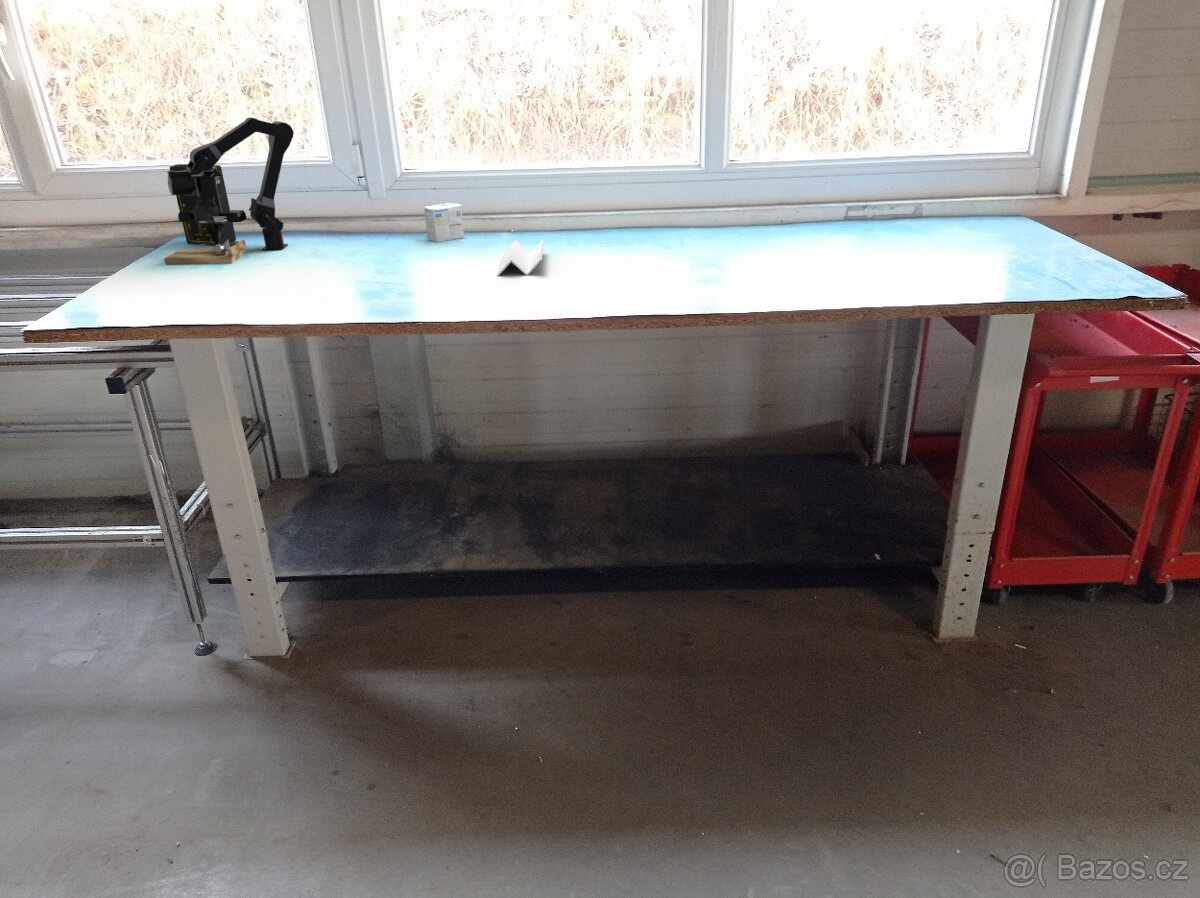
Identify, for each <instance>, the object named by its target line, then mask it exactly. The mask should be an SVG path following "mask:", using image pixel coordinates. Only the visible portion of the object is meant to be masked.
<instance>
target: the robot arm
mask: <svg viewBox="0 0 1200 898" xmlns="http://www.w3.org/2000/svg"><path fill="white" fill-rule="evenodd" d="M255 133H260V134H264V135H267V136H268V137H267V140H268V149H269V150H268V155H267V159H266V163H265V168H264V171H263V172H264V173H263V177H262V180H261V186H260V190H259V194H258V196H257V197H256V199H255V198H254V197H251V199H250V206H249V208H248V211H249V212H250V214H249V215H250V218H251V219H252V220H253V221H254V223H256V224H258V225H259V227H260V228H261V231H262V235H263V241H264V246H263V247H262V248H261V250H262V251H276V250H278V251H279V250H283V249H285V248H286V247H287V246H289V244H288V243H284V242H285V241H284V238H283V232H282V231H283V229H284V223H283V221H282V220H280V219H278V218H277V217H276V205H275V196H276V191H277V186H278V182H279V178H280V173H281V168H282V165H283V160H284V155H285V153H286V151H287V150H288V149H289V147H290V145H291V143H292V141H293V138H294V133H295V132H294V130H293V127H292V126H291V125H290V124H288V123H287V122H283V121H280V120H275V121H273V122H268V121H264V120H261V119H260V120H259V119H258V118H255V117H251V116H250V117H246V119H245V120H243V122H241V123H240V124H238V125H236V126H235V127H233V128H232V129H230V130H229V131H228V132H226V133H225V134H222V136H220V137H218V138H217V139H215V140H214V141H211V142H209V143H205V144H203V145H200V146H198V147H196V148H193V149H192V150H191V151H190V152H189V162H187V164H188V165H187V167H186V169H185V171H170V170H168V171H167V172H166V173H167V186H168V189H169V192H170V195H171V196H176V195H182V194H192V192H193V191H194V190H195V182H194V178H195V181H196V186H197V192H198V197H197V205H196V206H195V207H194V209H193V210H183V211H181V212H180V211H178V214H177V219H178V222H179V223H182V222H189V221H190V220H191V219H195V220H196V221H197V222H200V223H199V225H203V226H204V227H205V228H206V229H207V230H208V232H209V233H210V235H211V237H212V239H213V240H214V242H215V244H217V243H218V242H219V241H220V237H221V233H222V229H223V227H224V224H225V223H226V222H228V221H229V222H233V223H242V222H244V221H245V220H247V213H246V212H245V211H244V210H243V209H230V211H229V212H227V213H222V212H223V208H221V205H220V200H219V198H221V196H220V194H218V188H217V183H216V177H219V176H222V174H221V173H220V172H218V171H217V169H216V168H213V169H212V170H211V171H203V170H209V169H211V168H212V167H213V166H214V165H217V163H218V162H219V160H220V159H221V158H222V156H223V155H224V154H225V153H227V152H229V150H232V149H233V148H235V147H236V146H237V145H239V144H241V143H242V142H243V141H245V140H246V139H248V138H249V137H251V136H252V135H254V134H255ZM199 173H201V174H199ZM197 174H199V175H197ZM212 219H214V220H212Z"/></svg>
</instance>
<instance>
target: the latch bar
mask: <svg viewBox="0 0 1200 898" xmlns="http://www.w3.org/2000/svg"><path fill="white" fill-rule="evenodd" d="M212 248H213V250H214V254H215V255H224V254H226V251H227V249H228V248H230V243H229V240H228V239H221V240H220V241H219V242H218V243H217V244H216V245H212Z"/></svg>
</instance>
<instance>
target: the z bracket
mask: <svg viewBox="0 0 1200 898" xmlns="http://www.w3.org/2000/svg"><path fill="white" fill-rule="evenodd" d="M544 243H545V239H541V241H539V243H538V244H537V245H536V246H535V247H534V248H533V250H532V251H531V252H530V251H529V250H528V249H526V248H525V247H524V246H523V244H521V243H519V241H518V240H516V239H514V241H513V242H512V243H511V244H510V246H508V248H507V249H506V250H505V251H504V252H503V254H502V255H501V259H500V262H499V265H498V269H497V273H496V277H499V276H500V275H501V273H502V272H504V270H506V268H507V267H508V266H509V265H510V264H511V263H512V264H513V265H514V266H516V267H517V268H518V269H519V270H520V271H521V272H522V273H523V274H524V275H525V276H529V275H530V274H531V273H532V272H533V270H535V268H536V267H537V266H538V265H539V264H540V263H541V262H542V260H543V253H544Z"/></svg>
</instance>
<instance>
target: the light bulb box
mask: <svg viewBox="0 0 1200 898" xmlns="http://www.w3.org/2000/svg"><path fill="white" fill-rule="evenodd" d="M423 209H424V217H425V224H426V225H425V227H426V234H427V235H426V236H427V240H428V241H431V242H435V243H439V242H440V243H441V242H446V241H451V240H456V239H457V240H458V239H461V238H462V239H463V238H465V234H464V224H463V223H464V221H463V213H462V205H461V204H459V203H454V202H448V203H441V204H434V205H430V206H429V205H428V206H424V207H423Z"/></svg>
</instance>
